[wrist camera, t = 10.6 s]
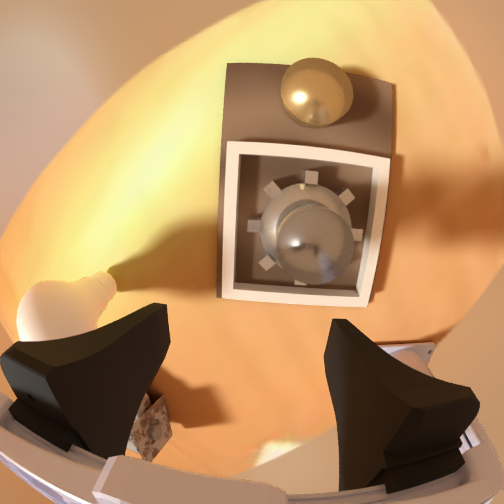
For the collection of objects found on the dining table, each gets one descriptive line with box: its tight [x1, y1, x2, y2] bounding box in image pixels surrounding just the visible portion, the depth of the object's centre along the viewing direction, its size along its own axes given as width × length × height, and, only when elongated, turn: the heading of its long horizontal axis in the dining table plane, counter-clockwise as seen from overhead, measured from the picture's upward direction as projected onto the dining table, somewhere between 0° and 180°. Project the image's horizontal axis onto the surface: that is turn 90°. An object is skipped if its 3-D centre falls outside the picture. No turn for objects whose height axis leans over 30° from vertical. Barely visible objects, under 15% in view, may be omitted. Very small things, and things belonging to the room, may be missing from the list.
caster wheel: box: [127, 393, 172, 462], centre depth 24 cm, size 7×11×10 cm
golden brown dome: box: [280, 58, 353, 129], centre depth 15 cm, size 4×4×2 cm
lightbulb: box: [16, 271, 117, 341], centre depth 17 cm, size 6×6×11 cm
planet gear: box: [247, 170, 363, 285], centre depth 16 cm, size 8×8×6 cm
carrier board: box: [217, 63, 393, 307], centre depth 18 cm, size 18×12×1 cm
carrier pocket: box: [222, 141, 390, 307], centre depth 18 cm, size 11×11×1 cm
